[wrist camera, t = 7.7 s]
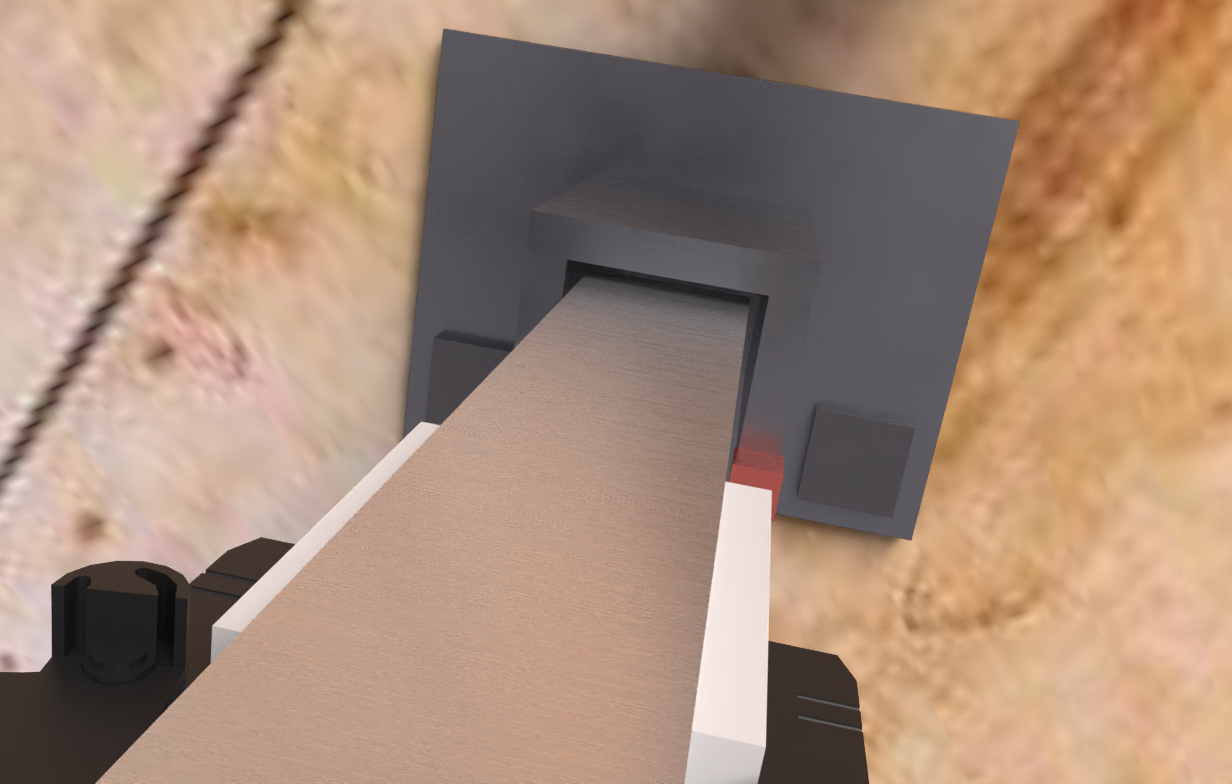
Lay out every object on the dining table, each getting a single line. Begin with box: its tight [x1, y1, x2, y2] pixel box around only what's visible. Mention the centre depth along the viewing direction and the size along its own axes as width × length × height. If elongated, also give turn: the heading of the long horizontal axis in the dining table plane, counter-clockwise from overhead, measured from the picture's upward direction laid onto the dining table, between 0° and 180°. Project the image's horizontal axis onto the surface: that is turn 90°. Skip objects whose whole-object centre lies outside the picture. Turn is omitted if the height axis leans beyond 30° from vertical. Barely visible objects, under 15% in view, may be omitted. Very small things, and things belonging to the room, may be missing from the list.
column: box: [95, 269, 750, 784], centre depth 17 cm, size 4×5×22 cm
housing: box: [403, 29, 1020, 540], centre depth 31 cm, size 18×14×12 cm
